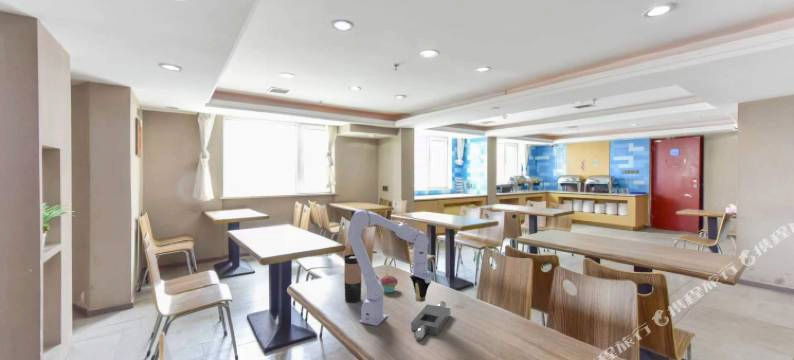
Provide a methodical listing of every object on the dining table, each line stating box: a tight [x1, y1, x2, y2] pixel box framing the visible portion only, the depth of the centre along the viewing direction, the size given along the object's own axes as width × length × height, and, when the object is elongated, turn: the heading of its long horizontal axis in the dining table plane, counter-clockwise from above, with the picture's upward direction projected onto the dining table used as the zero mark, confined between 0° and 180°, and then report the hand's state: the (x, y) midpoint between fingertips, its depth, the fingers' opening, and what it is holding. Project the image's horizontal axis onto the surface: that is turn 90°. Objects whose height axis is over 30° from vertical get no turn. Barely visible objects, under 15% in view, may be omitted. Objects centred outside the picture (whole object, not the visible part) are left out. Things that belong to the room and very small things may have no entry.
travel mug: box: [343, 253, 362, 304], centre depth 153 cm, size 8×8×20 cm
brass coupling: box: [415, 282, 426, 303], centre depth 136 cm, size 4×4×7 cm
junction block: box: [410, 300, 451, 342], centre depth 131 cm, size 30×10×3 cm, turn 156°
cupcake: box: [380, 268, 398, 294], centre depth 165 cm, size 9×8×12 cm
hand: (420, 295), depth 136 cm, fingers closed on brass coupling, 4 cm apart
